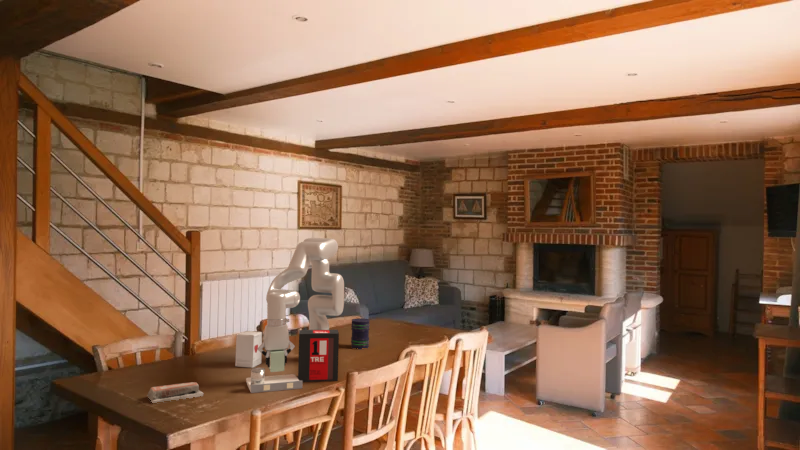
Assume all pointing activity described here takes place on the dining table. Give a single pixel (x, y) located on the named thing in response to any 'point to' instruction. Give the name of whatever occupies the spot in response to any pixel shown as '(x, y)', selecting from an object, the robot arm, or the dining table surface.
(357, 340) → the storage jar
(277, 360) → the tea box
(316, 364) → the cleaning product box
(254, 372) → the clear glass cup
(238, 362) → the supplement box
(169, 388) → the notched trowel
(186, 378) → the dining table surface
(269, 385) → the board
